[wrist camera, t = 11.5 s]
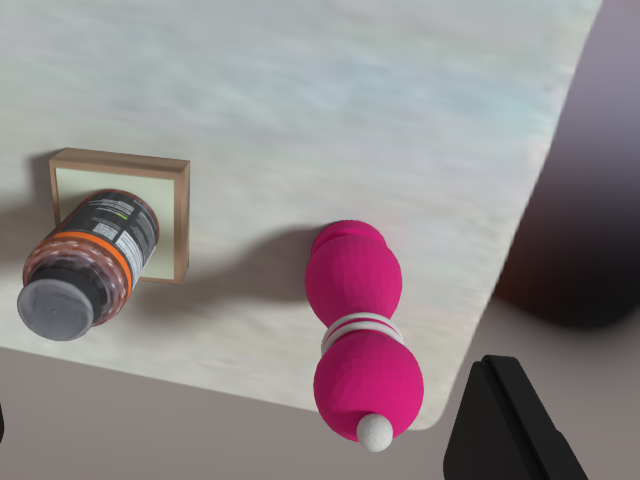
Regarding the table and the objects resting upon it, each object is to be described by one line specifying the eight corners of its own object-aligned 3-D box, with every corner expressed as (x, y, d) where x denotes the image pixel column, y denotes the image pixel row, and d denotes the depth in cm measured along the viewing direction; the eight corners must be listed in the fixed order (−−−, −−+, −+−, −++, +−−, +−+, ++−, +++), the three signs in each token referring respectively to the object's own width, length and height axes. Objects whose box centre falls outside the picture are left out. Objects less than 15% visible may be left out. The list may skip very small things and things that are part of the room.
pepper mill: (304, 291, 45) (299, 498, 27) (305, 212, 41) (302, 386, 23) (389, 293, 45) (442, 499, 27) (397, 214, 42) (463, 388, 24)
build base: (66, 147, 39) (47, 160, 36) (190, 160, 39) (180, 174, 37) (76, 255, 43) (59, 274, 40) (188, 265, 43) (179, 285, 40)
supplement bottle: (86, 260, 39) (8, 356, 29) (71, 185, 37) (-20, 262, 27) (166, 261, 40) (117, 357, 29) (158, 186, 37) (100, 263, 27)
